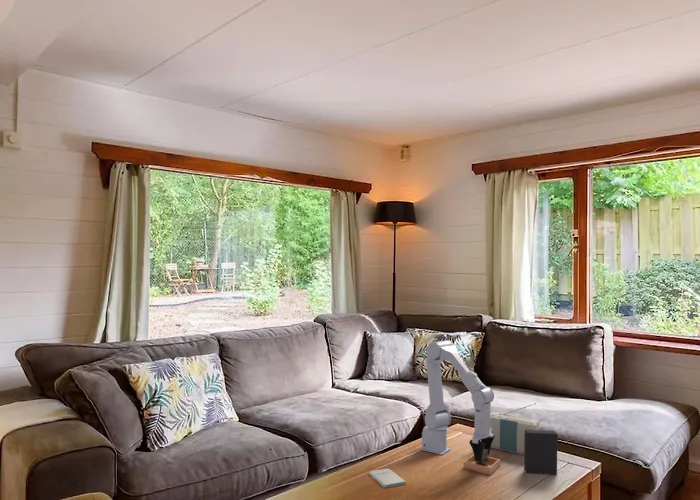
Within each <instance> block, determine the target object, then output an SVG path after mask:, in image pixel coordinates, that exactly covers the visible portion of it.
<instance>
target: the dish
mask: <svg viewBox="0 0 700 500" xmlns="http://www.w3.org/2000/svg"><path fill="white" fill-rule="evenodd" d="M475 461H476V460H475V457H474V453H473V454H471V455H470V456H469V457H468V458H466V459H465V460H463V469H465V470H469V471H471V472H476V473H481V474H484V475H489V476H491V475H492V474H493V473H494V472H495V471H496V470H498V469H499V468H500V467H501V459H499V458H495V457H490V456H488V467H486V466H482V465H478V464H475Z"/></svg>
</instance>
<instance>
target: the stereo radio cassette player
mask: <svg viewBox="0 0 700 500" xmlns="http://www.w3.org/2000/svg"><path fill="white" fill-rule="evenodd" d="M533 405H537V403H536V402H535V403H533V404H530V405H526V406H523V407H519V408H517V409H514V410H510V411H508V412H505V413H502V412H501V413H499V412H495V411H491V418H490V428H492V433H491V434H493V435H494V436H495V438H494V440H493V442H492V444H491V448H492V449H496V450H500V451H505V452H509V453H515V454H518V455H523V456H524V434H525V430H540V420H539V419H533V418H527V417H522V416H517V415H512V414H511V413H514V412H518V411H519V410H520V411H521V410H523V409H526V408H528V407H531V406H533ZM491 448H490V449H491Z"/></svg>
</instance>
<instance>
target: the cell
mask: <svg viewBox="0 0 700 500" xmlns="http://www.w3.org/2000/svg"><path fill="white" fill-rule="evenodd" d="M488 457H489V455H488V448H486V447H484V449H483V453H482V460H481V461H475V464H478V465H482V466H486V467H488Z"/></svg>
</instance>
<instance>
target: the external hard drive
mask: <svg viewBox="0 0 700 500" xmlns="http://www.w3.org/2000/svg"><path fill="white" fill-rule="evenodd" d="M369 474H370V475H371V476H370V475H369ZM368 475H369V476H370V477H371V478H372V479H374V480H375V479H376V480H377V481H378V482H379V483H378V482H377V481H376V480H375V481H376V482H377V483H378V484H379V485H380V486H382V487H383V488H384V487H385V488H384V489H387V488H386V487H388V488H393V487H394V488H395V487H398V486H403V485H407V482H406V480H404V479H403V478H402V477H401V476H399V475H397V473H395V472H394V471H393V470H391V469H390V468H383V469H377V470H371V471H369V472H368Z"/></svg>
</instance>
